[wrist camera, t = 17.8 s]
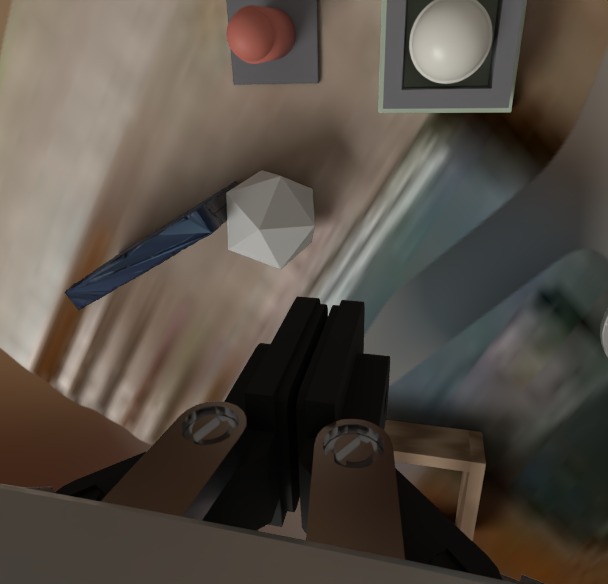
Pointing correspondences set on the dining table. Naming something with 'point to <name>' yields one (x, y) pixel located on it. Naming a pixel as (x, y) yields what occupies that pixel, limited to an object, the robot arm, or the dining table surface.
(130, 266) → the vhs cassette tape
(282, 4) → the coaster
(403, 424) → the snack corral
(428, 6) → the popper dome
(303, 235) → the die
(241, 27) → the pawn
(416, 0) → the popper base
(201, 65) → the dining table surface
